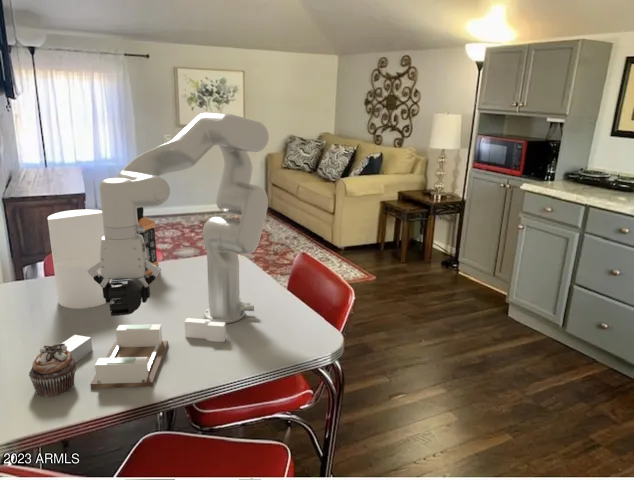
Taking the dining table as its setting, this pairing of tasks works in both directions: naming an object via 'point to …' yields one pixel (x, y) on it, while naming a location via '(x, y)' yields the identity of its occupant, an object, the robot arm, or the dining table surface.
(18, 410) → the dining table surface
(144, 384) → the rail board
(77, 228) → the cylinder
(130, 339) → the mounted modules
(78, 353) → the block
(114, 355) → the rail
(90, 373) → the dining table surface
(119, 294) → the end cap
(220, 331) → the white stepped block
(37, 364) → the cupcake
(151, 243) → the whiskey bottle
